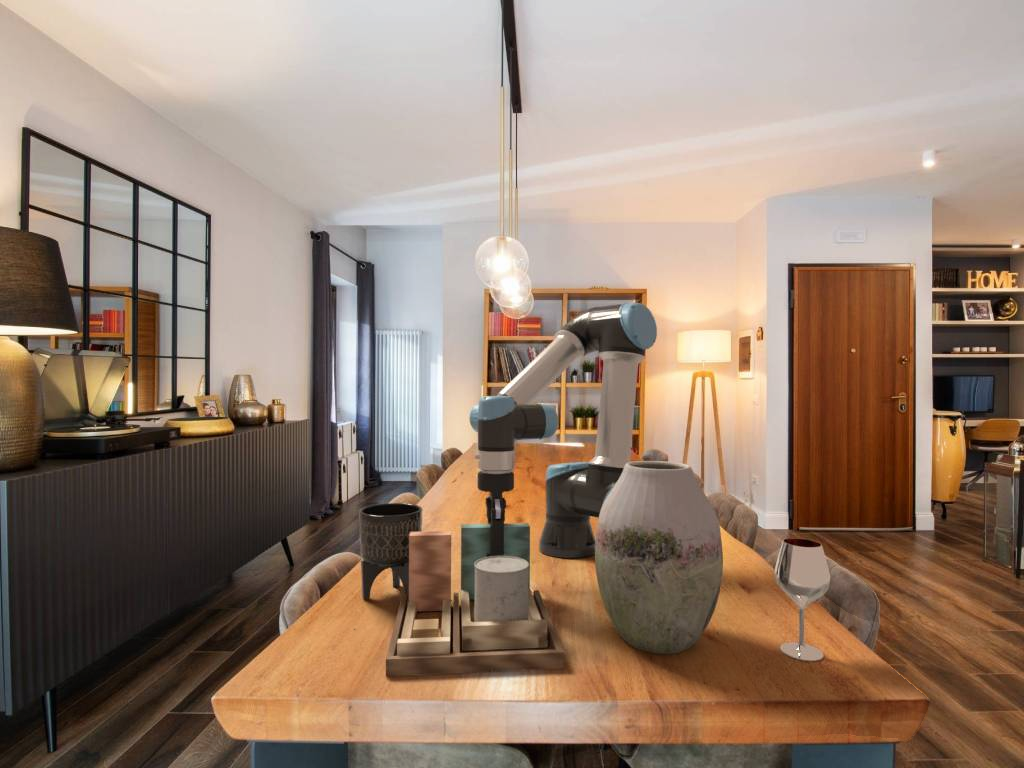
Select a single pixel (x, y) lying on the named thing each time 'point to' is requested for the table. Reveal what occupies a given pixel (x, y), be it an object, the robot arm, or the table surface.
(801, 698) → the table surface
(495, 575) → the speckled stone cylinder
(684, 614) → the vase
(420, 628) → the oak cube
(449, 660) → the guide frame
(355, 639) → the table surface
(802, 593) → the wineglass
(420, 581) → the cube sled
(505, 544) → the can sled
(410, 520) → the planter
